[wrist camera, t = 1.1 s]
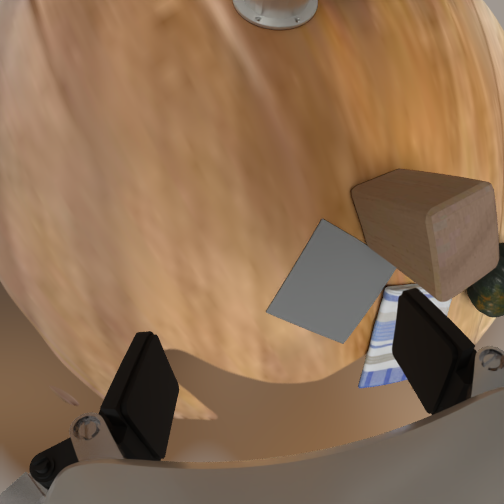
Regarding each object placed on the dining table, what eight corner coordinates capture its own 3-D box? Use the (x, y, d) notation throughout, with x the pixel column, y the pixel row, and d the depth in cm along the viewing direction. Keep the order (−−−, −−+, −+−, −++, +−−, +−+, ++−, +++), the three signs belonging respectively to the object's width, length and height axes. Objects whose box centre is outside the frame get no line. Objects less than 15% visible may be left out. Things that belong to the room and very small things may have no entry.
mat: (321, 218, 40) (322, 218, 40) (397, 264, 43) (398, 264, 43) (265, 311, 45) (266, 312, 45) (342, 342, 48) (343, 343, 48)
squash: (476, 244, 37) (513, 321, 29) (517, 221, 36) (551, 285, 29) (447, 277, 49) (474, 340, 42) (488, 254, 49) (514, 309, 41)
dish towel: (453, 278, 45) (461, 284, 42) (419, 371, 52) (425, 379, 50) (382, 281, 44) (390, 288, 41) (354, 384, 52) (358, 393, 49)
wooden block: (415, 224, 41) (502, 266, 22) (366, 248, 42) (441, 309, 23) (400, 166, 38) (495, 179, 19) (346, 188, 39) (429, 214, 20)
